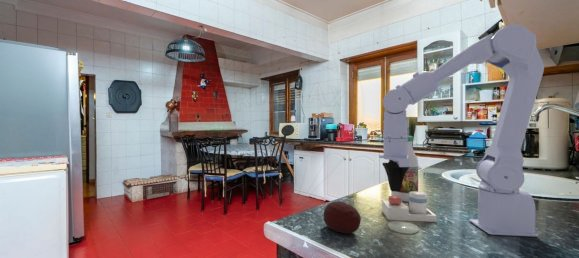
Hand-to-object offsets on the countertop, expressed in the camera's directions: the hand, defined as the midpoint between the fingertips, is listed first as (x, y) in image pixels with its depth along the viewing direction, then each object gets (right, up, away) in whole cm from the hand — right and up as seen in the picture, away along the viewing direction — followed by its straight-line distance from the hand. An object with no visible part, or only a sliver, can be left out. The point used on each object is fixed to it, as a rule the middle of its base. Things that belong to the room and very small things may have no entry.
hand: (395, 190), depth 67 cm
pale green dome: (-1, -7, -8) cm, 10 cm away
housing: (+3, -6, 0) cm, 7 cm away
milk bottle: (+9, -6, +15) cm, 19 cm away
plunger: (0, -6, 0) cm, 6 cm away
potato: (-16, -7, -9) cm, 19 cm away
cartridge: (+5, -7, -1) cm, 9 cm away
